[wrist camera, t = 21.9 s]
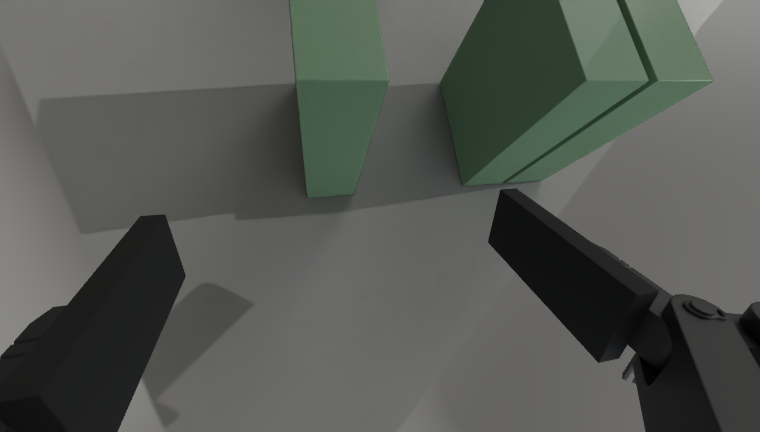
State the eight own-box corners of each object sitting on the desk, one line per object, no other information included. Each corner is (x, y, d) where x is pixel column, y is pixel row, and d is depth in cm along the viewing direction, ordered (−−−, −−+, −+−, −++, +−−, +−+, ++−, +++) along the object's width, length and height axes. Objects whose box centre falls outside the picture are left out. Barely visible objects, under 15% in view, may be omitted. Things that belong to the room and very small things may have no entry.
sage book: (307, 198, 24) (295, 80, 12) (297, 82, 26) (279, -115, 14) (354, 194, 25) (389, 80, 12) (340, 82, 27) (358, -105, 15)
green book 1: (462, 186, 27) (586, 80, 14) (440, 82, 29) (529, -84, 17) (500, 183, 27) (649, 80, 15) (475, 82, 30) (586, -77, 18)
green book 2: (505, 183, 27) (658, 80, 15) (480, 82, 30) (593, -76, 18) (541, 180, 28) (714, 81, 16) (513, 82, 31) (645, -70, 18)
